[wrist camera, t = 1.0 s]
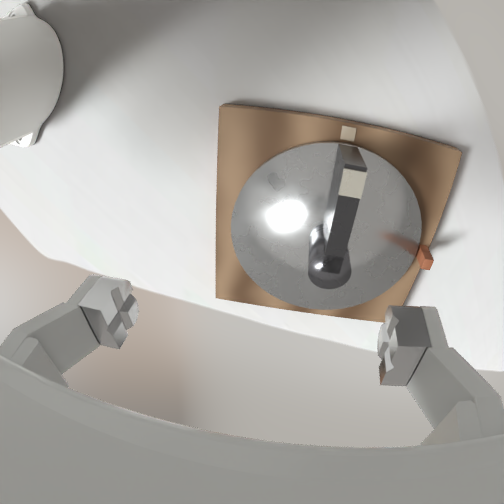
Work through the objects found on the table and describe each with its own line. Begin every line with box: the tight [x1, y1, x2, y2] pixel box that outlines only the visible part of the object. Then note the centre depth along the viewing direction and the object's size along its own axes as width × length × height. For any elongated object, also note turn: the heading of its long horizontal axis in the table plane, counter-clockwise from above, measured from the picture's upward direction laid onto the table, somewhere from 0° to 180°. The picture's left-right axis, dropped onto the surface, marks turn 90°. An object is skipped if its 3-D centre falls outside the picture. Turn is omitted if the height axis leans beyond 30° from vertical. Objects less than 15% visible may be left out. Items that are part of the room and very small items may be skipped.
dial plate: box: [216, 104, 462, 323], centre depth 30 cm, size 22×22×4 cm
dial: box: [231, 141, 422, 310], centre depth 28 cm, size 19×19×6 cm
